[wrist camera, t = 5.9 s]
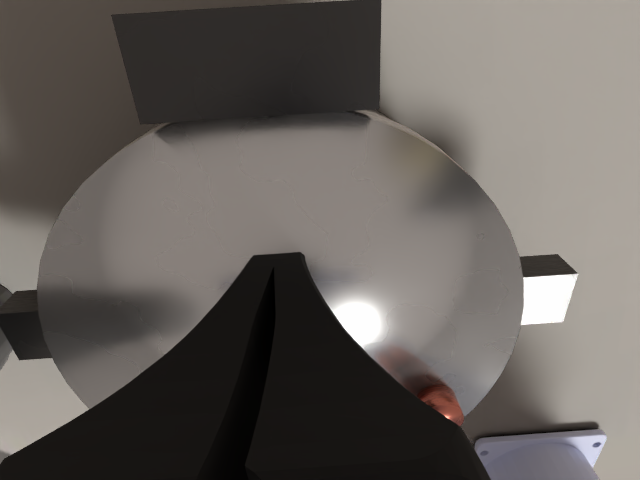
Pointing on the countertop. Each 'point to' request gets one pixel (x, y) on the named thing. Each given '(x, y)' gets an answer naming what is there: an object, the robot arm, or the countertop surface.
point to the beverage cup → (3, 348)
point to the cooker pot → (538, 271)
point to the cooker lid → (278, 207)
